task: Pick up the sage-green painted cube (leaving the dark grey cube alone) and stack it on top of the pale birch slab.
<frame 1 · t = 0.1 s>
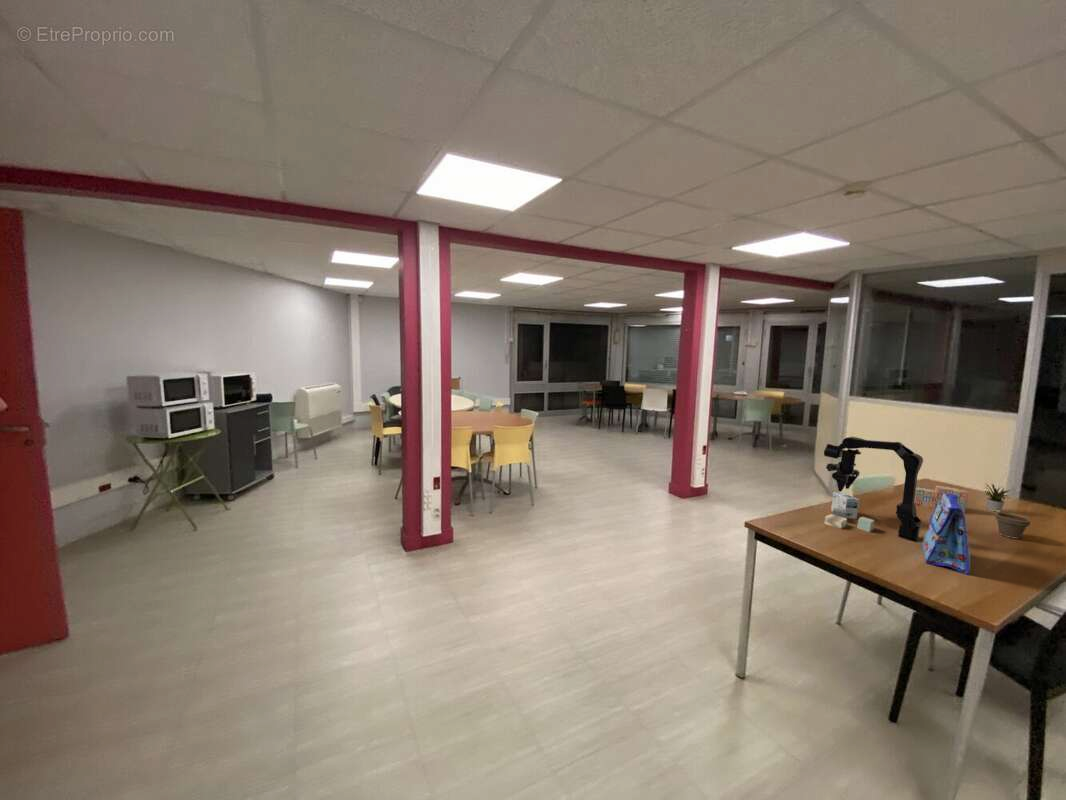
hand: (843, 490, 221), 15 cm above the table, fingers open, 9 cm apart
house plant: (990, 510, 245), on the table
flower pot: (1008, 536, 208), on the table
lunch bag: (944, 560, 180), on the table
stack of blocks: (937, 507, 245), on the table
grey block: (838, 519, 219), on the table
light bulb box: (843, 515, 226), on the table
sage block: (864, 529, 208), on the table
birch slab: (835, 525, 212), on the table
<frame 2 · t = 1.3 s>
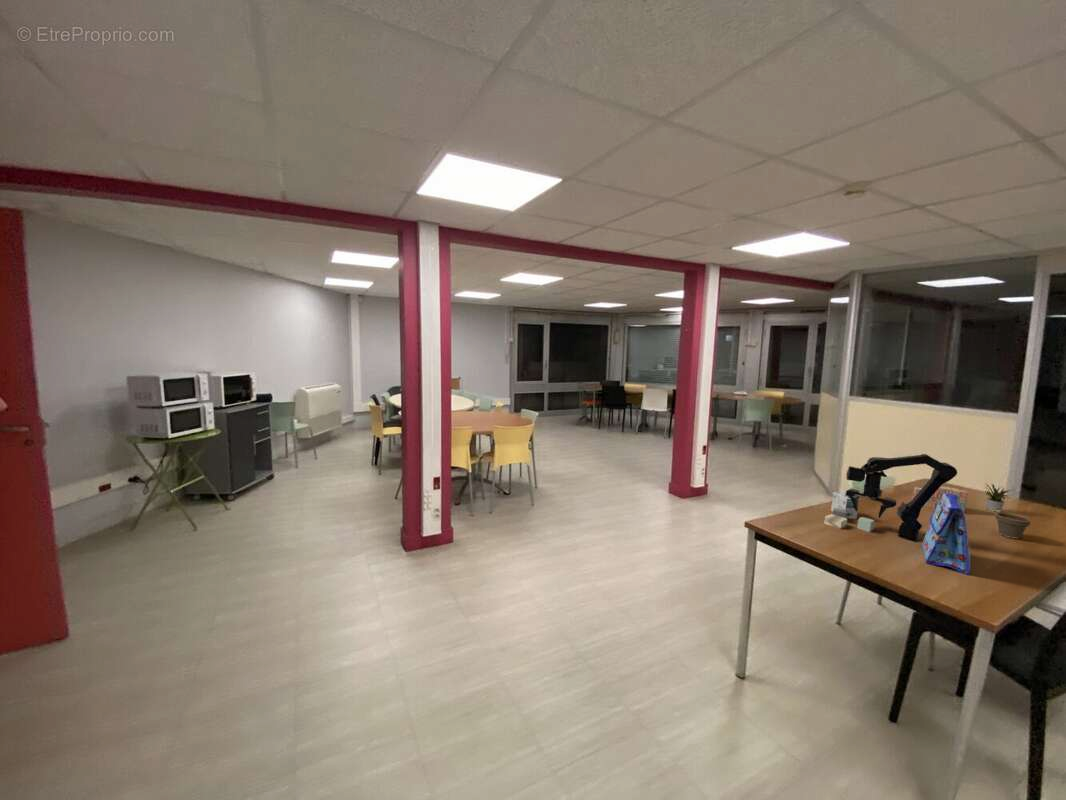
hand: (867, 514, 207), 7 cm above the table, fingers open, 9 cm apart
nothing on the table moved.
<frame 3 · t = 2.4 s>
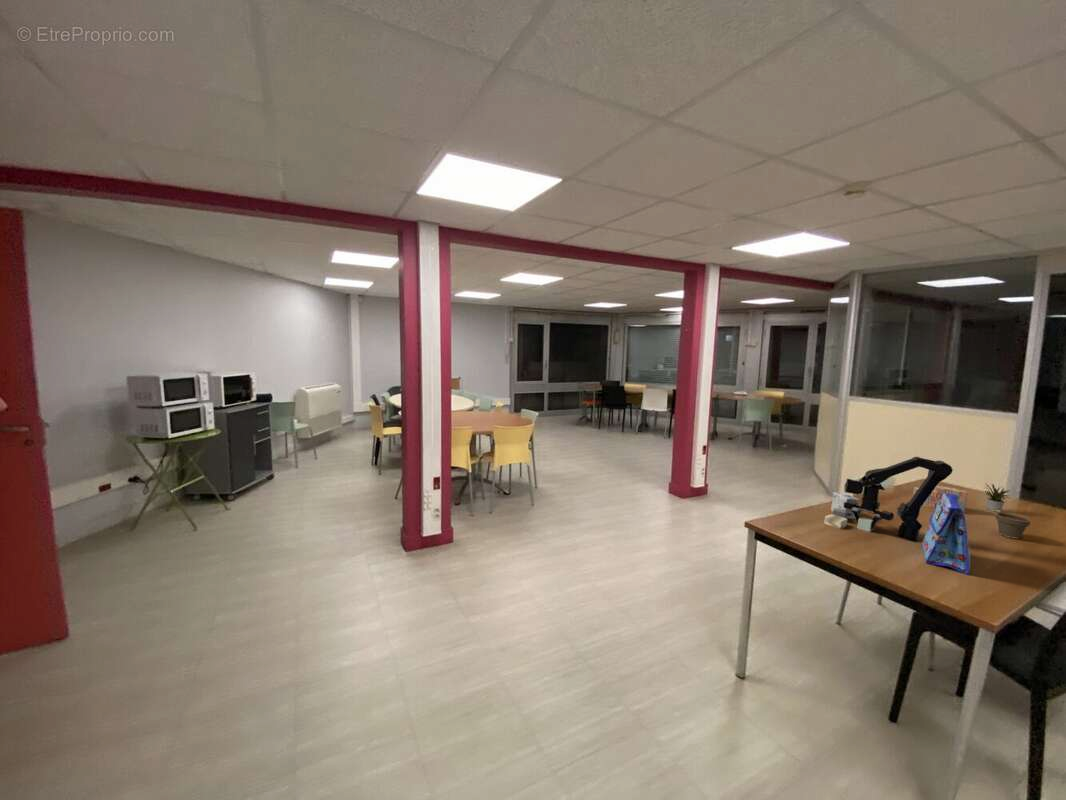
hand: (865, 526, 208), 1 cm above the table, fingers closed on sage block, 5 cm apart
sage block: (865, 528, 208), on the table, touching gripper
everything else where it was.
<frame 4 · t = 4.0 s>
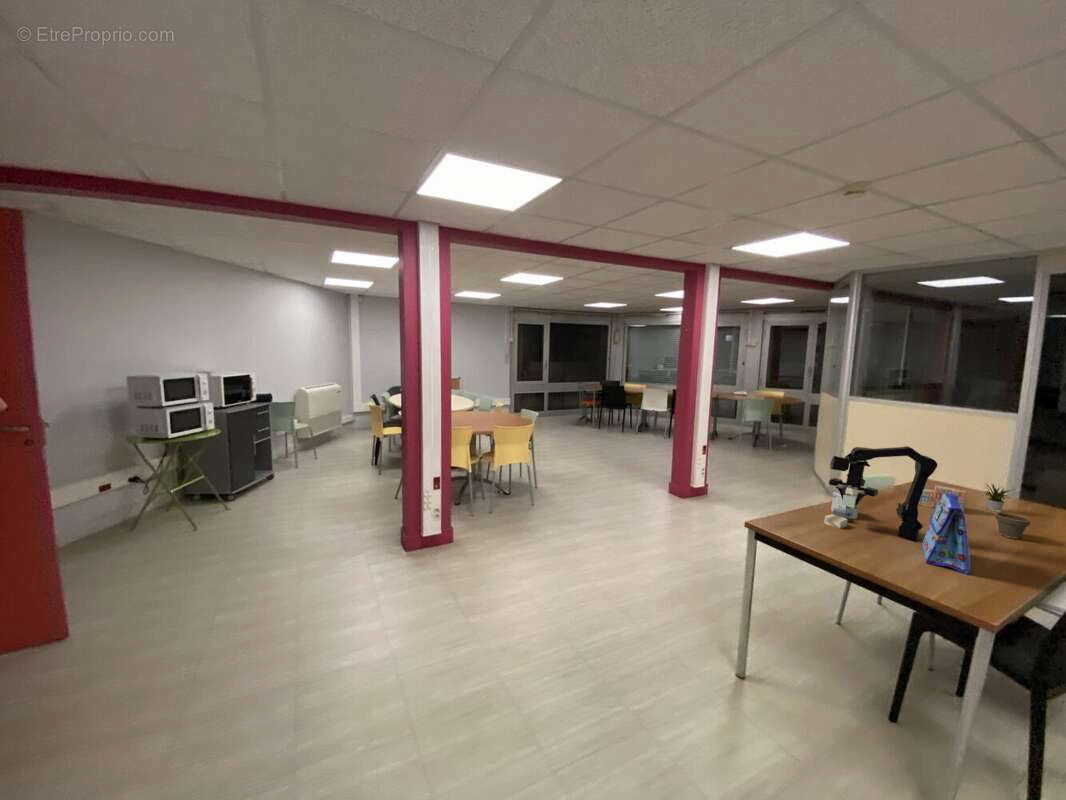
hand: (849, 503, 209), 12 cm above the table, fingers closed on sage block, 5 cm apart
sage block: (849, 505, 209), point 11 cm above the table, touching gripper
everything else where it was.
when the fingers open (6 cm above the table, at t = 5.6 s): sage block drops 1 cm, resting on birch slab.
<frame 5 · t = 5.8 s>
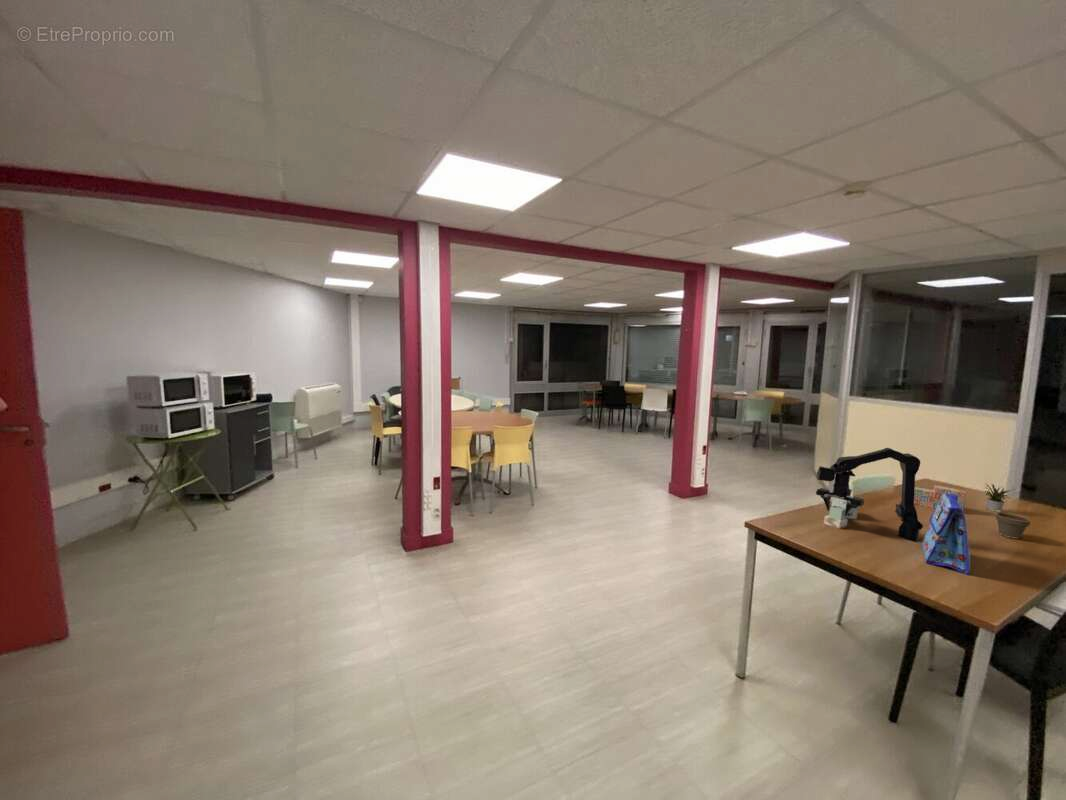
hand: (837, 513, 211), 6 cm above the table, fingers open, 7 cm apart
sage block: (836, 517, 211), point 4 cm above the table, touching birch slab
birch slab: (835, 525, 212), on the table, touching sage block
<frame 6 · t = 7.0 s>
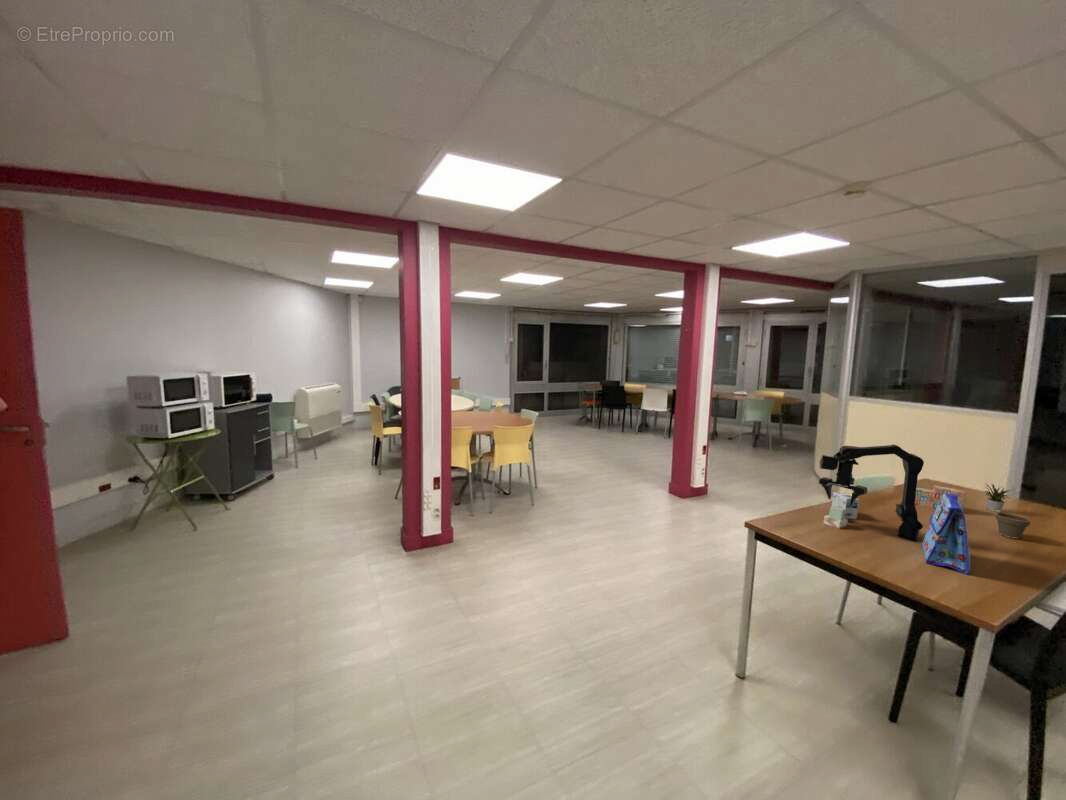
hand: (840, 502, 210), 12 cm above the table, fingers open, 9 cm apart
sage block: (836, 517, 211), point 4 cm above the table
birch slab: (834, 525, 212), on the table
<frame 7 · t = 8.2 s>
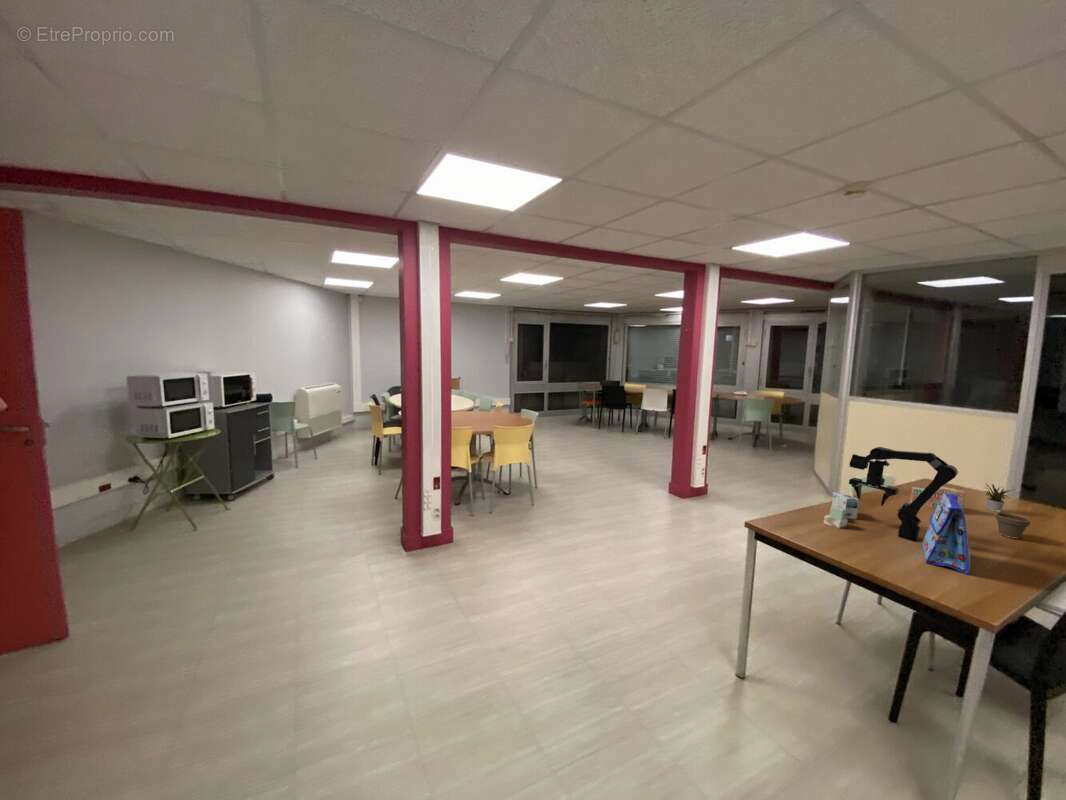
hand: (870, 502, 211), 12 cm above the table, fingers open, 9 cm apart
sage block: (836, 517, 211), point 4 cm above the table, touching birch slab
birch slab: (834, 525, 212), on the table, touching sage block
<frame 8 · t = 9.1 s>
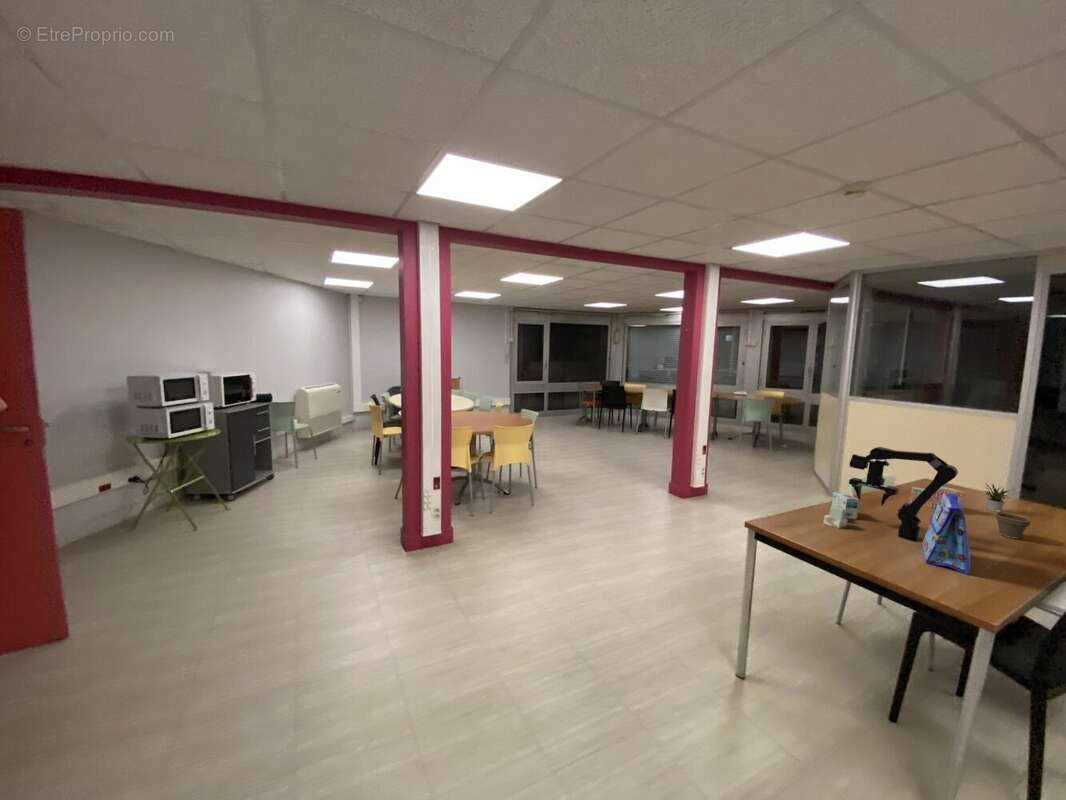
hand: (870, 502, 211), 12 cm above the table, fingers open, 9 cm apart
at the end: sage block 0.6 cm off-centre on the birch slab, point 4.0 cm above the birch slab's base; sage block tilted 0°; the gripper is holding nothing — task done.
